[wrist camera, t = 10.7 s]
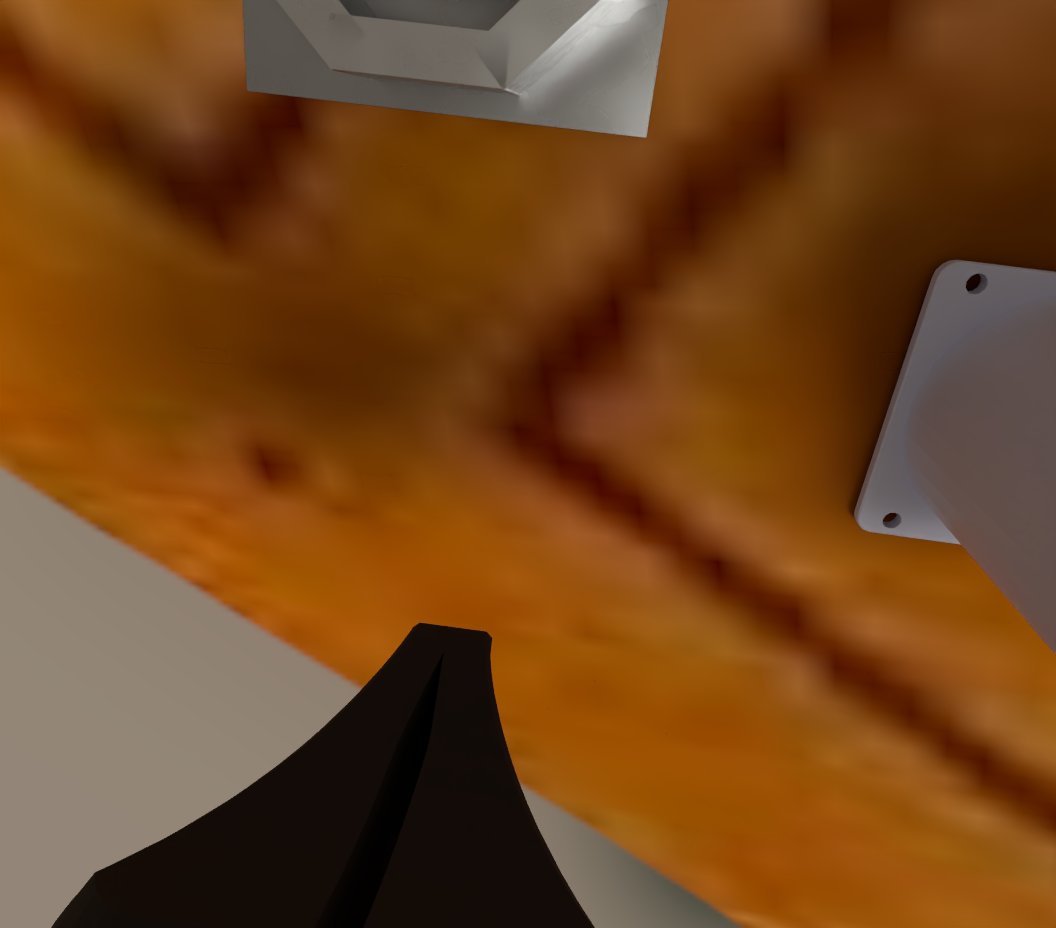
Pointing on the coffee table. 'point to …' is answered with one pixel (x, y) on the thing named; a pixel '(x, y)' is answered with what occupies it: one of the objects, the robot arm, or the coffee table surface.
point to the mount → (465, 57)
